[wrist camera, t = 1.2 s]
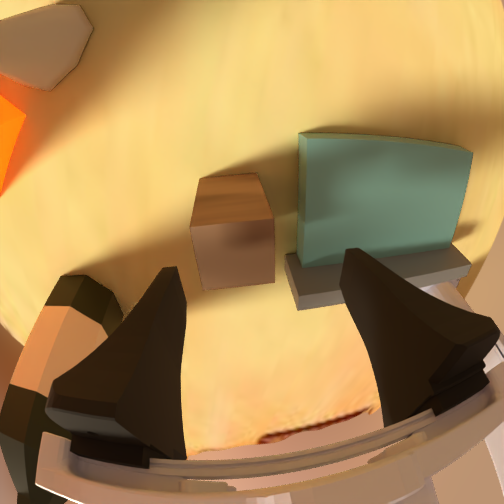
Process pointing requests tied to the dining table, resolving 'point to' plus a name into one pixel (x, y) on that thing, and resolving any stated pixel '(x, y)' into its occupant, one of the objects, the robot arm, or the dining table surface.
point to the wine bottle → (51, 374)
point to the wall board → (376, 211)
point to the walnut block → (233, 232)
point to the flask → (43, 44)
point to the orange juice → (8, 133)
